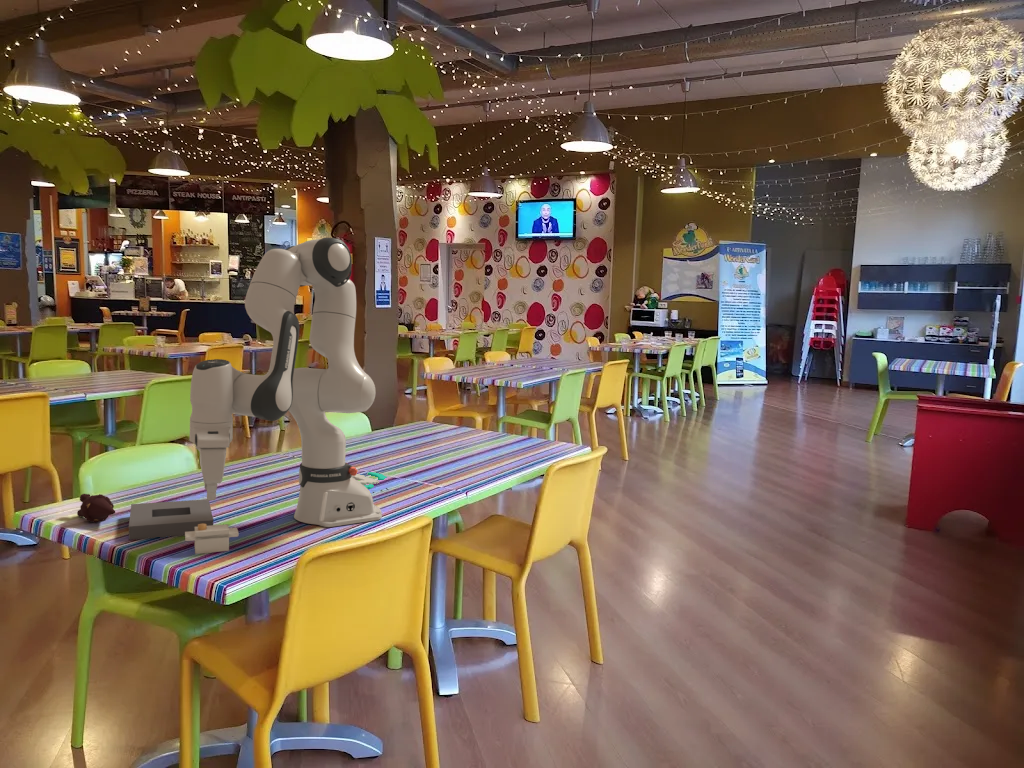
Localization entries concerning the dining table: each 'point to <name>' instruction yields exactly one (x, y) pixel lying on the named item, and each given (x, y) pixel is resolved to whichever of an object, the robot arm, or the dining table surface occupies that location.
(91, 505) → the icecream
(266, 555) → the dining table surface
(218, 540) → the servo
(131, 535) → the grey board with hole
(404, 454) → the dining table surface
